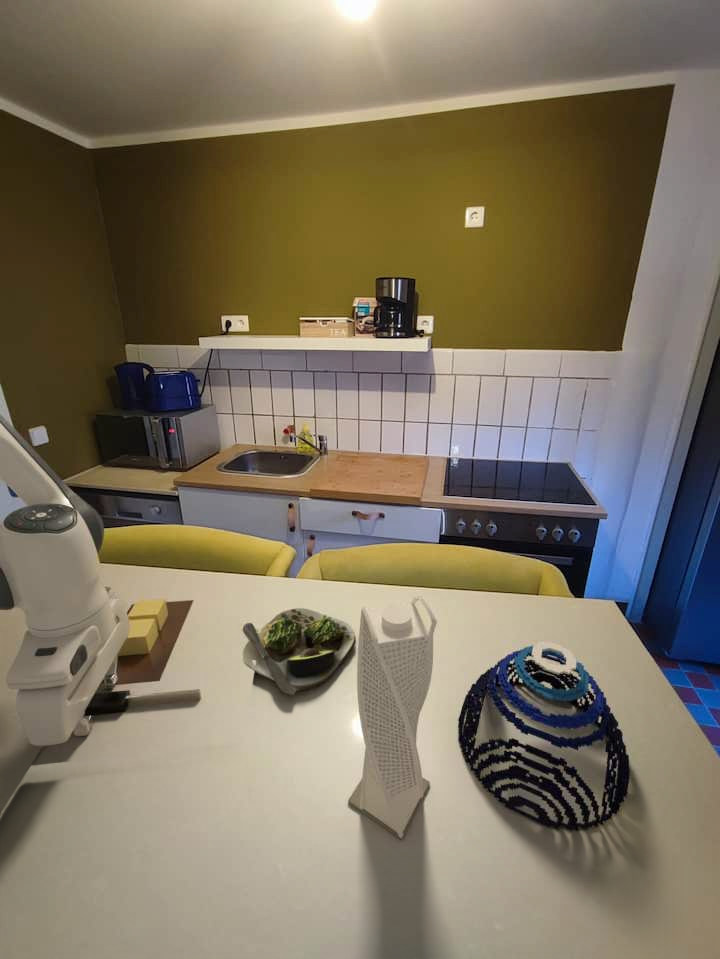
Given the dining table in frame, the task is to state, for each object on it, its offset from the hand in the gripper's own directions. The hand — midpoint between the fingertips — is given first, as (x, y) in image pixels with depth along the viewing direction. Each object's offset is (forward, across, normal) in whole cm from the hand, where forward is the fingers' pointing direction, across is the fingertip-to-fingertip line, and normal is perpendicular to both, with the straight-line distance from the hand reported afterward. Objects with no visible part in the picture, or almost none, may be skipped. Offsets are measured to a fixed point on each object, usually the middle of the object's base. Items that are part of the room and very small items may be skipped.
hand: (98, 706), depth 60 cm
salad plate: (+2, -9, +28) cm, 29 cm away
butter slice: (0, -18, +1) cm, 18 cm away
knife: (+2, 0, +5) cm, 5 cm away
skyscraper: (+2, +16, +39) cm, 42 cm away
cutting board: (+2, -14, -1) cm, 14 cm away
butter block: (0, -12, +1) cm, 12 cm away
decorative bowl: (+2, +11, +59) cm, 60 cm away
